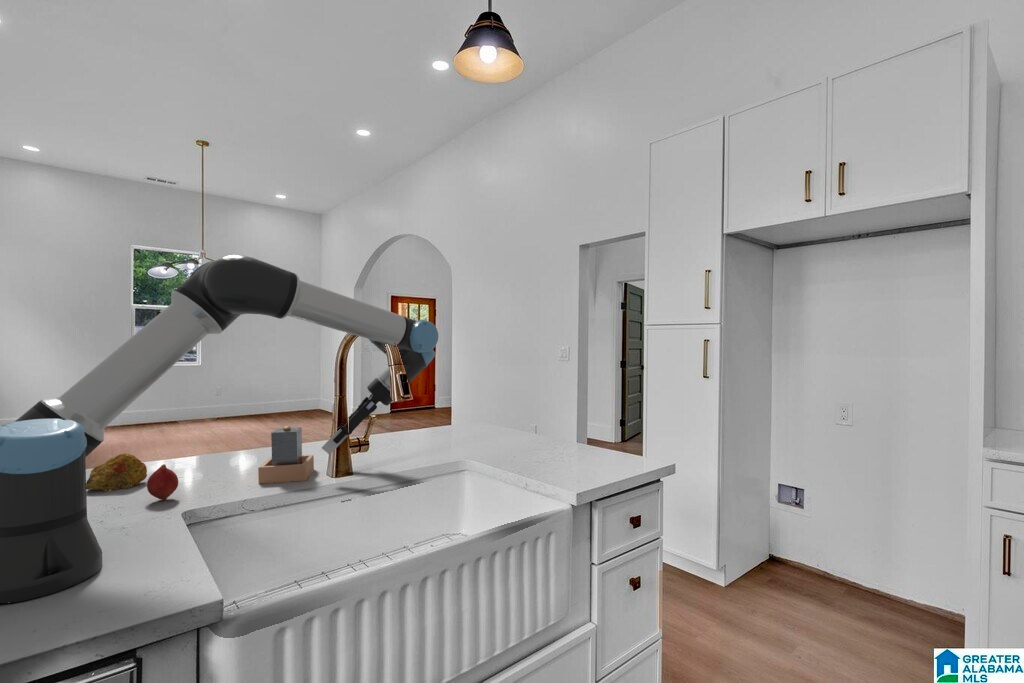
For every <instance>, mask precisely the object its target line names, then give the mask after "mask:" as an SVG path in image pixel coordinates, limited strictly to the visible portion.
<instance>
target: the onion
mask: <svg viewBox="0 0 1024 683" xmlns="http://www.w3.org/2000/svg"><path fill="white" fill-rule="evenodd" d="M178 486H179V477H178V474H176V472H174V471H173V470H172V469H169V468H167V465H166V464H165V463H163V464H161V465H160V467H158V468H157V469H156V470H155V471H153V472H152V473H151V475H150V476H149V477H148V479H147V481H146V488H147V492H148V493H149V495H151V496H153V497H154V498H157V499H159V500H160V501H165V500H167V499H168V498H169V497H170V496H171V495H173V493H174V492H175V491H176V490H177V488H178Z"/></svg>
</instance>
